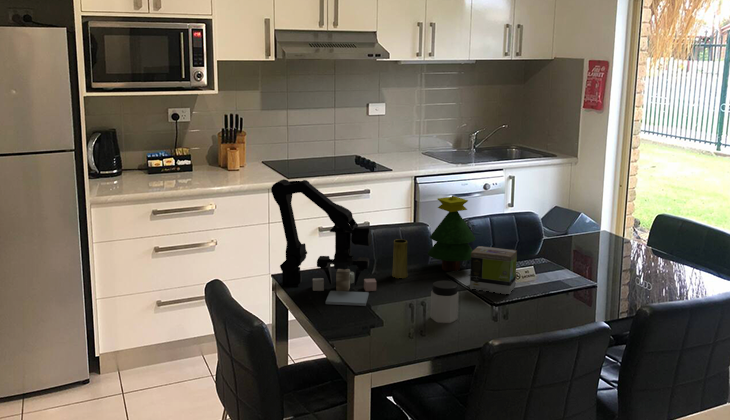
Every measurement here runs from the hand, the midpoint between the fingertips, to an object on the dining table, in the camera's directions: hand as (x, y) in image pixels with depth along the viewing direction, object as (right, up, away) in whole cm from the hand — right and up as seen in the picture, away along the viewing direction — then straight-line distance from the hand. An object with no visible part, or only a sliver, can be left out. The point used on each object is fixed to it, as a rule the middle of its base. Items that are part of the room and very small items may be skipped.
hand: (343, 284), depth 272 cm
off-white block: (-9, -2, 0) cm, 9 cm away
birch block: (0, -2, 0) cm, 2 cm away
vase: (+22, +2, +15) cm, 26 cm away
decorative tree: (+43, +4, +25) cm, 49 cm away
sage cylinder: (+2, 0, +8) cm, 8 cm away
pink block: (+10, -2, 0) cm, 10 cm away
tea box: (+55, -2, +2) cm, 55 cm away
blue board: (+2, -4, -11) cm, 12 cm away
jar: (+34, -9, -27) cm, 45 cm away
